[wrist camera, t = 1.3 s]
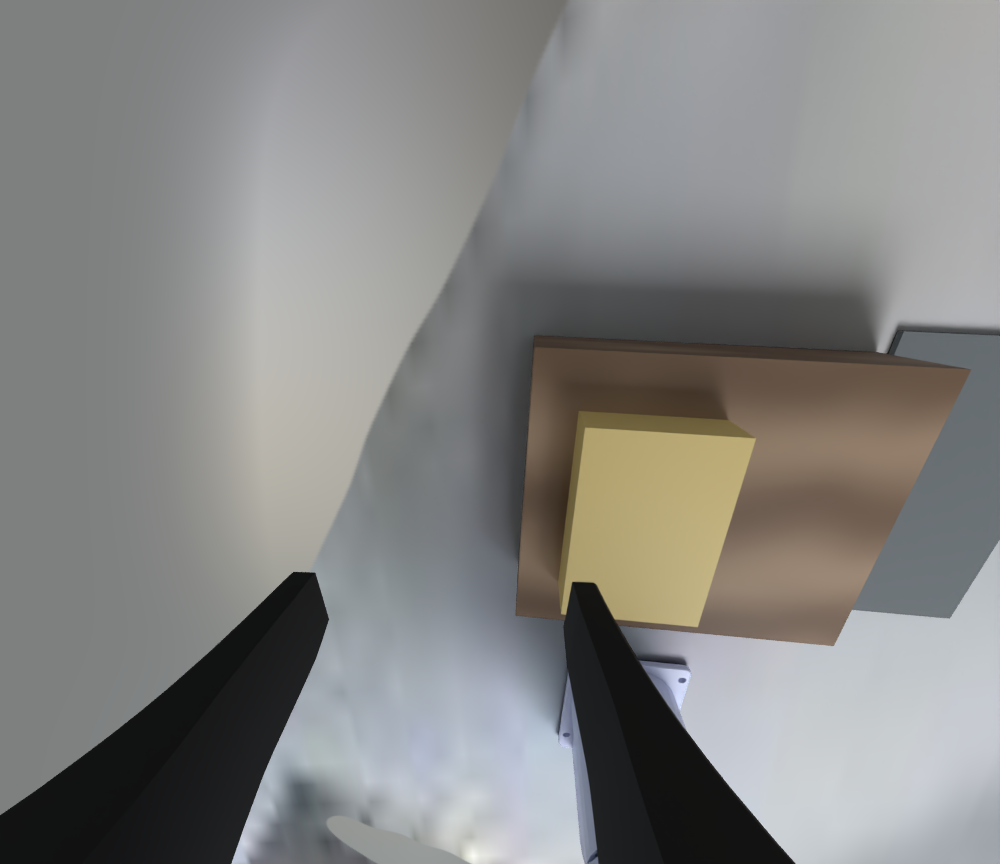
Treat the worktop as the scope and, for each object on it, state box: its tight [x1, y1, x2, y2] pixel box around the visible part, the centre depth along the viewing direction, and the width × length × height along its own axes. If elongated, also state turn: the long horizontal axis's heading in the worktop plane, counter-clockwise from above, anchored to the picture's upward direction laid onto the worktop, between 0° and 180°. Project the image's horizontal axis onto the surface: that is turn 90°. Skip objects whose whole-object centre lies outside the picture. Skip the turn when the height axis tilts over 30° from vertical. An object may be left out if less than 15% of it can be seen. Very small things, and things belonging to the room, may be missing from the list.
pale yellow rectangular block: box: [558, 411, 756, 627], centre depth 16 cm, size 9×6×2 cm, turn 178°
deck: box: [516, 336, 972, 646], centre depth 19 cm, size 14×16×4 cm
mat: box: [852, 331, 1000, 618], centre depth 19 cm, size 16×9×1 cm, turn 178°
